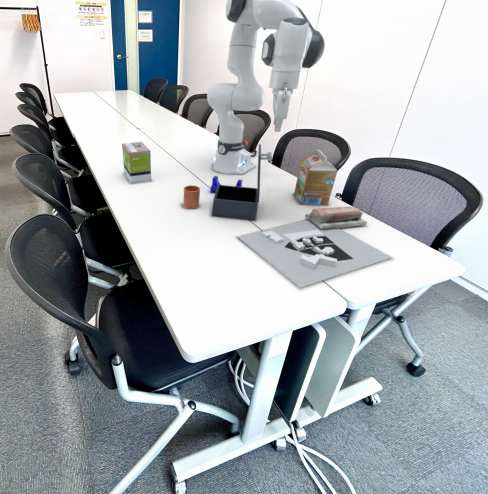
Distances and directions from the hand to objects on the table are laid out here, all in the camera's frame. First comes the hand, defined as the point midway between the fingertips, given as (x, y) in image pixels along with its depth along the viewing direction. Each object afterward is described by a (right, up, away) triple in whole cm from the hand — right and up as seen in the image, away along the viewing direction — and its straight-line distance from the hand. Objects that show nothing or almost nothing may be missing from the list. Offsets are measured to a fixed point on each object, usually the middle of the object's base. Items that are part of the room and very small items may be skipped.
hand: (276, 128), depth 110 cm
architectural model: (+9, -40, -4) cm, 41 cm away
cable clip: (-10, -16, +33) cm, 38 cm away
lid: (-3, -13, +9) cm, 16 cm away
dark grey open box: (-10, -25, +19) cm, 33 cm away
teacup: (-26, -23, +23) cm, 41 cm away
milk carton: (+23, -20, +27) cm, 41 cm away
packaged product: (+24, -30, +10) cm, 40 cm away
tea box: (-49, -6, +49) cm, 70 cm away
